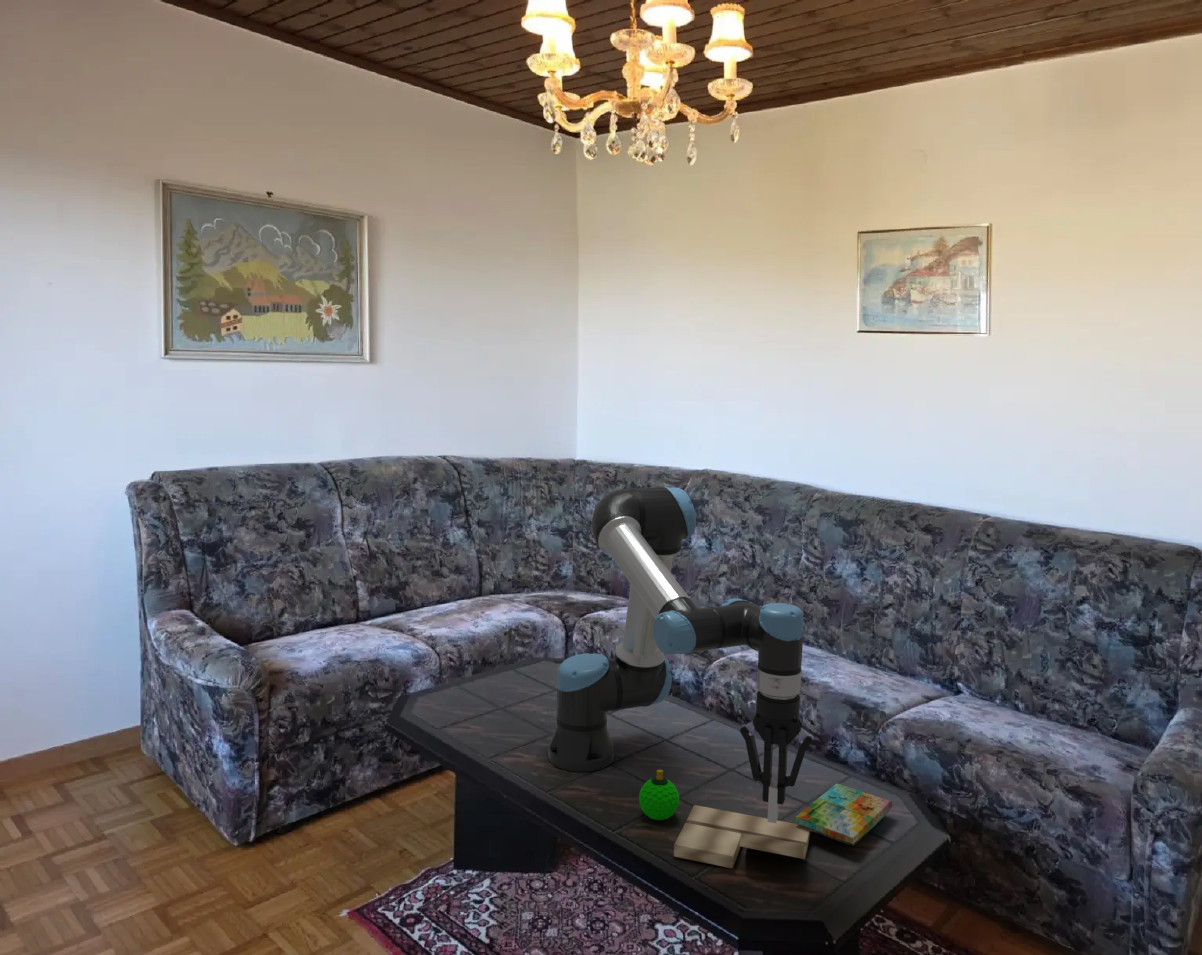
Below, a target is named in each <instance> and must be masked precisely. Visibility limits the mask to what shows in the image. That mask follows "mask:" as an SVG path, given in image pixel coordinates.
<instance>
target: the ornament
mask: <svg viewBox="0 0 1202 955" xmlns="http://www.w3.org/2000/svg"><path fill="white" fill-rule="evenodd" d="M663 775H664V770H663V769H661V768H660V769H657V770H656V776H654V777H652V778H650V779H648V780H647V781H645V782H644V784H643V785H642V786H641V788H640V790H639V793H638V795H639V796H638V802H639V805H640V809H641V811H642V812H643V813H644V814H645V816H648V818H650V819H653V820H655V821H664V820H668V819H669V818H670V817H672V816H673V815H674V814H675V813H676V812H677V809H678V807H679V804H680V795H679V791H678V789H677V786H676V785H675V784H674V783H673V782H672V781H671V780H669V779H667V778H666V777H664V776H663Z"/></svg>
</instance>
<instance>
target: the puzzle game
mask: <svg viewBox="0 0 1202 955" xmlns="http://www.w3.org/2000/svg"><path fill="white" fill-rule="evenodd" d="M892 807H893V800H889V799H885V798H883V797H880V796H876V795H874V794H871V793H867V792H864V791H862V790H859V789H855V788H853V787H850V786H846V785H843V784H841V783H835V784H834V785H832V786H831V787H830V788H829V789H828V790H826V791H825V792H824V793H823V794H822V795H821V796H819V797H818V798H816V800H815V801H813V802H812V803H811V804H809V805H808V806H807V807H806V808H805V809H803V810H802V811H801V812H799V814H797V815H796V816H795V817H794V824H799V825H802V826H805V827H808V828H810V832H813V833H816V834H818V835H821V836H824V837H827V838H830V839H832V840H835V841H837V842H840V843H843V844H846V845H849V846H851V847H854V846H855V845H856V844H857V843H858V842H859V841H860V840H861V839H862V838H863V837H864V836H866V834H868V833H869V832H870V831H871V830H872V829H873V828H874V827H875V826H876V825H877V824H879V822H880V821H881V820H882V819H883V818H884V817H885V816H887V815H888V813H889V812H890V811H891V809H892Z"/></svg>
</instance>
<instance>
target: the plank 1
mask: <svg viewBox="0 0 1202 955" xmlns="http://www.w3.org/2000/svg"><path fill="white" fill-rule="evenodd" d="M740 836H741V833H737V832H732V831H726V830H721V829H716V828H711V827H706V826H700V825H695V824H690V823H686V822H685V823H684V824H683V827H682V829H681V831H680V833H679V834H678V837H677V839H675V842H674V845H673V857H676V858H679V859H684V860H685V859H686V860H690V861H694V862H699V863H704V864H710V865H714V866H719V867H723V868H728V869H734V866H735V864H736V861H737V858H738V855H739V852H740V851H741V846H739V845H740Z"/></svg>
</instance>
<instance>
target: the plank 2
mask: <svg viewBox="0 0 1202 955" xmlns="http://www.w3.org/2000/svg"><path fill="white" fill-rule="evenodd" d="M739 846H741V847H742V848H748V849H752V850H757V851H763V852H765V853H766V852H768V853H773V854H777V855H781V856H782V855H783V856H787V857H792V858H798V859H802V860H805V859H806V857H805V853H806V846H805V845H803V844H798V843H793V842H788V841H782V840H777V839H772V838H767V837H761V836H756V835H751V834H746V833H741V836H740V845H739ZM741 847H740V848H741ZM806 854H807V853H806Z"/></svg>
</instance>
